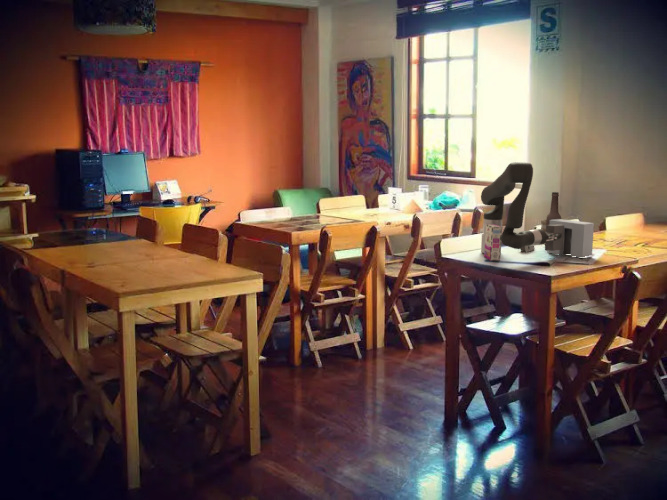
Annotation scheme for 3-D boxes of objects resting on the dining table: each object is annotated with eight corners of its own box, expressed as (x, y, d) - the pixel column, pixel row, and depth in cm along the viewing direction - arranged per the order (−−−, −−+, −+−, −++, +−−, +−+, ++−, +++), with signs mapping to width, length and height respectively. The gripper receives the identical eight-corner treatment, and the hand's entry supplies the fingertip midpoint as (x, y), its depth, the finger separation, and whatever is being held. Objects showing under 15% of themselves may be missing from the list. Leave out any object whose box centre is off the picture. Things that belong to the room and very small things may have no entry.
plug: (553, 250, 374) (554, 226, 372) (545, 249, 377) (546, 225, 375) (564, 249, 379) (565, 224, 378) (556, 248, 383) (557, 224, 381)
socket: (582, 259, 377) (584, 224, 375) (547, 253, 393) (549, 220, 390) (591, 257, 382) (594, 223, 380) (557, 251, 398) (559, 218, 395)
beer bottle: (557, 251, 400) (560, 193, 395) (542, 249, 404) (545, 192, 399) (561, 249, 406) (564, 192, 401) (547, 248, 410) (550, 191, 405)
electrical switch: (527, 252, 396) (526, 234, 395) (517, 252, 399) (517, 234, 398) (534, 250, 403) (534, 232, 402) (525, 250, 406) (524, 232, 405)
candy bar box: (500, 261, 370) (502, 226, 367) (490, 261, 369) (491, 226, 367) (493, 257, 381) (495, 223, 378) (483, 257, 380) (485, 223, 378)
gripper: (547, 231, 361) (569, 228, 372) (522, 228, 372) (544, 226, 383) (547, 247, 362) (568, 244, 373) (522, 243, 373) (543, 241, 384)
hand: (556, 235), depth 378 cm, fingers closed on plug, 4 cm apart
